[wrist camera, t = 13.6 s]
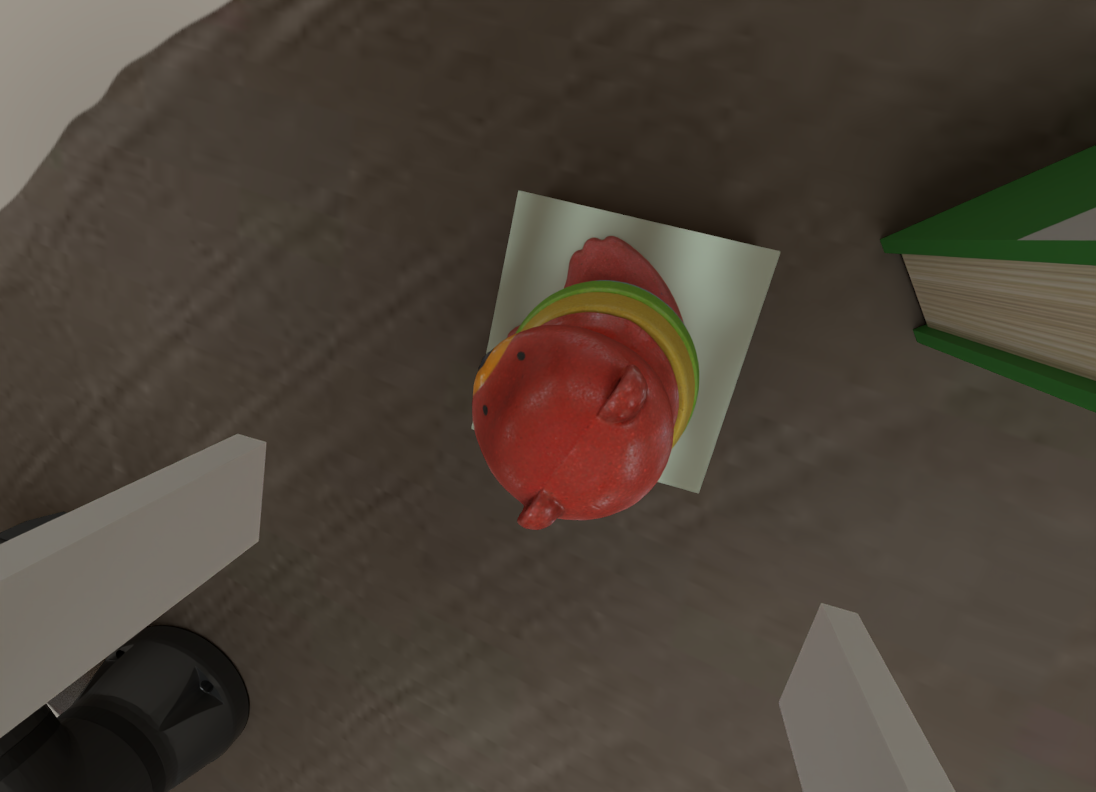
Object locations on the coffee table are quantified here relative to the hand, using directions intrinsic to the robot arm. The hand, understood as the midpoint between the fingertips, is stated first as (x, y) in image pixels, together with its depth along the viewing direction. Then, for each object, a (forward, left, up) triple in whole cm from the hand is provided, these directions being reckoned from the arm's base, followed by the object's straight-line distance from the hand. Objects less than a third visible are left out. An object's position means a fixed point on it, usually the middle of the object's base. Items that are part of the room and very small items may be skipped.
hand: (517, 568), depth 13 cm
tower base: (0, +1, -31) cm, 31 cm away
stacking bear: (0, +1, -23) cm, 23 cm away
